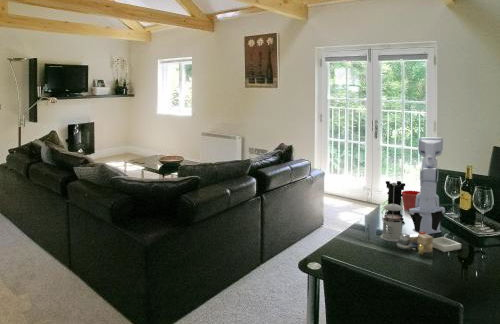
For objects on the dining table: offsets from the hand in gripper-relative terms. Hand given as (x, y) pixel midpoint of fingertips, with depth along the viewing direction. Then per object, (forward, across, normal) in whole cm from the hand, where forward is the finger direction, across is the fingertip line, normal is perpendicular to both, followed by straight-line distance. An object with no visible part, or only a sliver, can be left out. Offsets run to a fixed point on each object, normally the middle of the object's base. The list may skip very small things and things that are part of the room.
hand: (425, 230), depth 157 cm
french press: (+8, -5, +17) cm, 20 cm away
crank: (+6, -2, +5) cm, 9 cm away
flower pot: (+8, +30, +56) cm, 64 cm away
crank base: (+8, -5, +2) cm, 10 cm away
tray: (+8, +10, +2) cm, 13 cm away
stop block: (+8, 0, 0) cm, 8 cm away
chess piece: (+8, +8, +38) cm, 40 cm away
